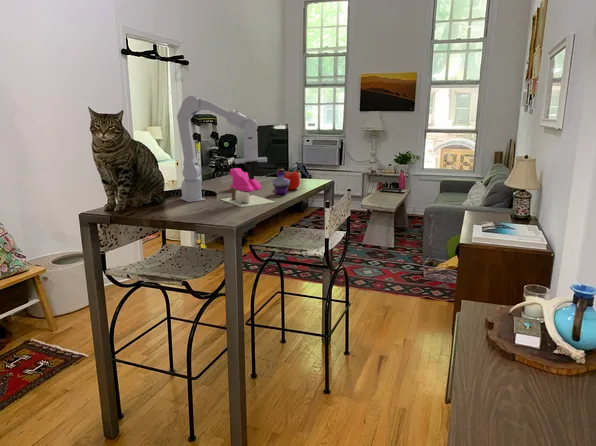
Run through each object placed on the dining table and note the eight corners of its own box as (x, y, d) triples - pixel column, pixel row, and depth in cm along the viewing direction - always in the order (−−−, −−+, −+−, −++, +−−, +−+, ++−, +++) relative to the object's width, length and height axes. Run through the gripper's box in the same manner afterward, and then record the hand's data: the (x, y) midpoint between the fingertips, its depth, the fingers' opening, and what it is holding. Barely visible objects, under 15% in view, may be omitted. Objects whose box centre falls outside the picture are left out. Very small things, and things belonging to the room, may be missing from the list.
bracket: (230, 189, 225) (230, 169, 222) (242, 186, 234) (242, 167, 231) (250, 192, 219) (250, 171, 217) (262, 188, 228) (261, 168, 226)
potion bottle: (293, 194, 214) (293, 168, 211) (281, 196, 208) (281, 170, 205) (280, 191, 220) (280, 167, 217) (268, 194, 213) (267, 169, 210)
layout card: (220, 199, 199) (220, 198, 199) (253, 195, 209) (253, 194, 209) (242, 207, 185) (242, 206, 185) (276, 202, 195) (276, 201, 194)
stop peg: (237, 204, 190) (237, 197, 190) (240, 203, 191) (240, 197, 191) (239, 204, 189) (239, 198, 188) (242, 204, 190) (242, 197, 189)
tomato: (301, 187, 232) (301, 170, 229) (295, 191, 220) (296, 173, 218) (281, 186, 234) (281, 169, 232) (275, 190, 223) (274, 172, 221)
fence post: (230, 200, 198) (230, 187, 196) (234, 199, 199) (234, 186, 198) (232, 201, 196) (232, 187, 195) (236, 200, 198) (236, 187, 196)
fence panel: (235, 200, 196) (235, 190, 195) (237, 199, 197) (237, 190, 196) (247, 203, 191) (247, 193, 190) (249, 202, 191) (249, 192, 190)
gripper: (261, 146, 200) (262, 176, 203) (231, 147, 193) (232, 179, 196) (269, 147, 194) (269, 179, 197) (238, 148, 187) (238, 181, 190)
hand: (251, 179), depth 196 cm, fingers closed
